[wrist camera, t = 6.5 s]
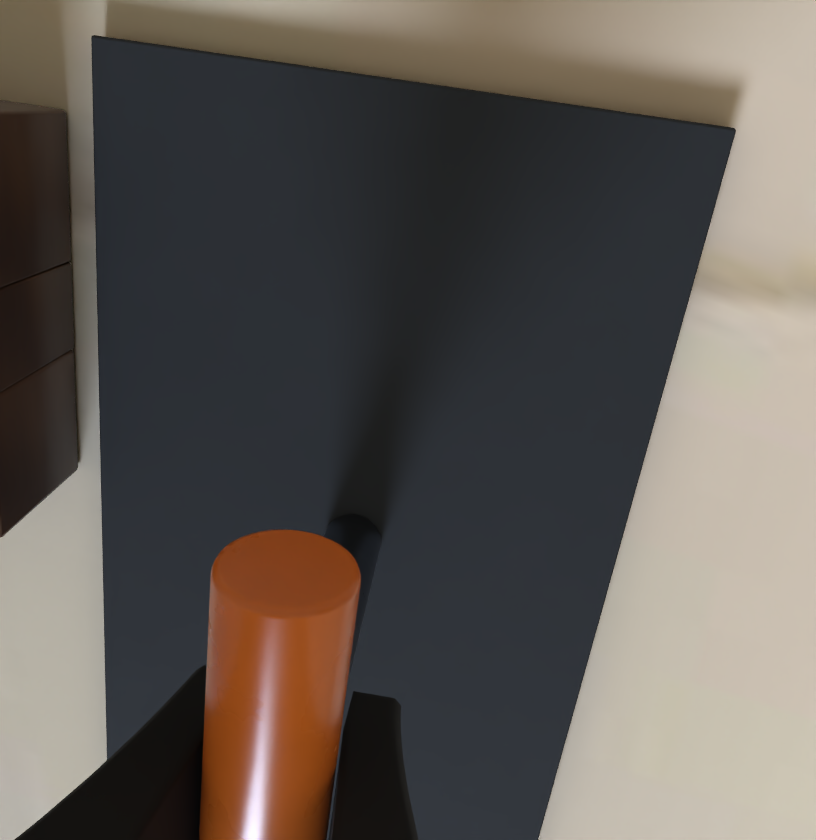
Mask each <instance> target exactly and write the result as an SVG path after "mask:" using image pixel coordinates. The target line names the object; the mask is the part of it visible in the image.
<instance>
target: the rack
mask: <svg viewBox="0 0 816 840" xmlns="http://www.w3.org/2000/svg"><path fill="white" fill-rule="evenodd" d="M70 260H71V245H70V216H69V187H68V157H67V128H66V112H65V111H64V110H62V109H55V108H49V107H42V106H35V105H29V104H22V103H15V102H8V101H2V100H0V537H3V536H4V535H5V534H6V533H7V532H8V531H9V530H11V529H12V528H13V527H14V526H15V525H16V524H17V523H18V522H19V521H21V520H22V519H23V518H24V517H25V516H26V515H27V514H28V513H29V512H31V511H32V510H33V509H34V508H35V507H36V506H37V505H38V504H39V503H41V502H42V501H43V500H44V499H45V498H46V497H47V496H48V495H49V494H51V493H52V492H53V491H54V490H55V489H56V488H57V487H58V486H59V485H61V484H62V483H63V482H64V481H65V480H66V479H67V478H68V477H69V476H71V475H72V474H73V473H74V472H75V471H76V470H77V468H78V457H77V428H76V399H75V370H74V352H73V350H71V349H73V348H74V327H73V298H72V269H71V263H69V261H70Z"/></svg>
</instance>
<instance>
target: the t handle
mask: <svg viewBox="0 0 816 840" xmlns="http://www.w3.org/2000/svg"><path fill="white" fill-rule="evenodd" d="M380 546H381V536H380V533H379V531H378V529H377V527H376V526H375V525H374V524H373V523H372V522H371V521H370V520H368V519H367V518H365V517H363V516H360V515H354V514H348V515H343V516H340V517H338V518H336V519H334V520H333V521H332V522H331V523H330V524H329V525H328V527H327V529H326V532H325V534H324V537H323V536H321V535H317V534H314V533H310V532H305V531H298V530H287V529H278V530H266V531H260V532H255V533H251V534H248V535H245V536H243V537H240V538H238V539H236V540H234V541H232V542H231V543H229V544H228V545H227V546H225V547H224V548H223V549H222V550H221V551H220V553H219V554H218V556H217V557H216V559H215V561H214V563H213V565H212V568H211V577H210V599H209V622H208V645H207V667H206V690H205V713H204V735H203V758H202V781H201V803H200V826H199V840H326V839H327V832H328V825H329V817H330V810H331V802H332V795H333V787H334V780H335V772H336V765H337V757H338V750H339V742H340V735H341V727H342V720H343V712H344V705H345V697H346V690H347V685H348V680H349V676H350V672H351V668H352V664H353V659H354V655H355V651H356V647H357V643H358V638H359V634H360V630H361V626H362V622H363V617H364V613H365V609H366V605H367V601H368V596H369V592H370V588H371V584H372V580H373V575H374V571H375V567H376V563H377V559H378V555H379V550H380Z"/></svg>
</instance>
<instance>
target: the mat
mask: <svg viewBox="0 0 816 840" xmlns="http://www.w3.org/2000/svg"><path fill="white" fill-rule="evenodd" d="M92 83H93V129H94V175H95V222H96V268H97V314H98V360H99V406H100V452H101V498H102V544H103V590H104V636H105V683H106V729H107V760H108V759H109V758H110V757H111V756H112V755H113V754H114V753H115V752H116V751H117V750H118V749H120V748H121V747H122V746H123V745H124V744H125V743H126V742H127V741H128V740H129V739H130V738H131V737H132V736H133V735H134V734H135V733H136V732H137V731H138V730H139V729H140V728H141V727H142V726H143V725H144V724H145V723H146V722H147V721H148V720H149V719H150V718H151V717H152V716H153V715H154V714H155V713H156V712H157V711H158V710H159V709H160V708H161V707H162V706H163V705H164V704H165V703H166V702H167V701H168V700H169V699H170V698H171V697H172V696H173V695H174V694H175V692H176V691H177V690H178V689H179V688H180V687H181V686H182V685H183V684H184V683H185V682H186V681H187V679H188V678H189V677H190V676H191V675H192V674H193V673H194V672H195V671H196V670H197V669H199V668H200V667H202V666H203V665H206V666H207V645H208V622H209V599H210V577H211V568H212V565H213V563H214V561H215V559H216V557H217V556H218V554H219V553H220V551H221V550H222V549H223V548H224V547H225V546H227V545H228V544H229V543H231V542H232V541H234V540H236V539H238V538H240V537H243V536H245V535H248V534H251V533H255V532H260V531H266V530H278V529H287V530H298V531H305V532H310V533H314V534H317V535H321V536H323V537H324V534H325V532H326V529H327V527H328V525H329V524H330V523H331V522H332V521H333V520H334V519H336V518H338V517H340V516H343V515H348V514H354V515H360V516H363V517H365V518H367V519H368V520H370V521H371V522H372V523H373V524H374V525H375V526H376V527H377V529H378V531H379V533H380V536H381V546H380V550H379V555H378V559H377V563H376V567H375V571H374V575H373V580H372V584H371V588H370V592H369V596H368V601H367V605H366V609H365V613H364V617H363V622H362V626H361V630H360V634H359V638H358V643H357V647H356V651H355V655H354V659H353V664H352V668H351V672H350V676H349V680H348V685H347V690H346V697H345V705H344V712H343V720H342V727H341V735H340V742H339V750H338V757H337V765H336V772H335V780H334V787H333V795H332V802H331V810H330V817H329V825H328V832H327V839H326V840H329V834H330V826H331V819H332V811H333V804H334V796H335V789H336V781H337V773H338V766H339V758H340V751H341V743H342V736H343V729H344V725H345V721H346V717H347V713H348V709H349V705H350V702H351V698H352V694H353V691H356V692H362V693H368V694H374V695H379V696H385V697H391V698H395V699H396V700H397V701H398V703H399V704H400V705H401V741H402V751H403V759H404V767H405V774H406V780H407V786H408V792H409V797H410V802H411V807H412V811H413V816H414V821H415V825H416V830H417V835H418V839H419V840H538V837H539V834H540V830H541V827H542V823H543V820H544V816H545V812H546V809H547V805H548V802H549V798H550V794H551V791H552V787H553V784H554V780H555V777H556V773H557V769H558V766H559V762H560V759H561V755H562V751H563V748H564V744H565V741H566V737H567V734H568V730H569V726H570V723H571V719H572V716H573V712H574V709H575V705H576V701H577V698H578V694H579V691H580V687H581V683H582V680H583V676H584V673H585V669H586V666H587V662H588V658H589V655H590V651H591V648H592V644H593V640H594V637H595V633H596V630H597V626H598V623H599V619H600V615H601V612H602V608H603V605H604V601H605V598H606V594H607V590H608V587H609V583H610V580H611V576H612V572H613V569H614V565H615V562H616V558H617V555H618V551H619V547H620V544H621V540H622V537H623V533H624V530H625V526H626V522H627V519H628V515H629V512H630V508H631V504H632V501H633V497H634V494H635V490H636V487H637V483H638V479H639V476H640V472H641V469H642V465H643V461H644V458H645V454H646V451H647V447H648V444H649V440H650V436H651V433H652V429H653V426H654V422H655V419H656V415H657V411H658V408H659V404H660V401H661V397H662V393H663V390H664V386H665V383H666V379H667V376H668V372H669V368H670V365H671V361H672V358H673V354H674V350H675V347H676V343H677V340H678V336H679V333H680V329H681V325H682V322H683V318H684V315H685V311H686V308H687V304H688V300H689V297H690V293H691V290H692V286H693V282H694V279H695V275H696V272H697V268H698V265H699V261H700V257H701V254H702V250H703V247H704V243H705V239H706V236H707V232H708V229H709V225H710V222H711V218H712V214H713V211H714V207H715V204H716V200H717V197H718V193H719V189H720V186H721V182H722V179H723V175H724V171H725V168H726V164H727V161H728V157H729V154H730V150H731V146H732V143H733V139H734V136H735V132H736V130H735V129H734V128H730V127H723V126H717V125H710V124H703V123H696V122H689V121H682V120H675V119H668V118H661V117H654V116H648V115H641V114H634V113H627V112H620V111H613V110H606V109H599V108H592V107H585V106H579V105H572V104H565V103H558V102H551V101H544V100H537V99H530V98H523V97H516V96H510V95H503V94H496V93H489V92H482V91H475V90H468V89H461V88H454V87H447V86H441V85H434V84H427V83H420V82H413V81H406V80H399V79H392V78H385V77H378V76H372V75H365V74H358V73H351V72H344V71H337V70H330V69H323V68H316V67H309V66H303V65H296V64H289V63H282V62H275V61H268V60H261V59H254V58H247V57H240V56H234V55H227V54H220V53H213V52H206V51H199V50H192V49H185V48H178V47H171V46H164V45H158V44H151V43H144V42H137V41H130V40H123V39H116V38H109V37H102V36H95V35H94V36H92Z"/></svg>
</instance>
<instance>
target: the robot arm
mask: <svg viewBox="0 0 816 840" xmlns="http://www.w3.org/2000/svg"><path fill="white" fill-rule="evenodd" d="M206 667H207V666H206V665H203V666H202V667H200V668H199V669H197V670H196V671H195V672H194V673H193V674H192V675H191V676H190V677H189V678H188V679H187V681H186V682H185V683H184V684H183V685H182V686H181V687H180V688H179V689H178V690H177V691H176V692H175V694H174V695H173V696H172V697H171V698H170V699H169V700H168V701H167V702H166V703H165V704H164V705H163V706H162V707H161V708H160V709H159V710H158V711H157V712H156V713H155V714H154V715H153V716H152V717H151V718H150V719H149V720H148V721H147V722H146V723H145V724H144V725H143V726H142V727H141V728H140V729H139V730H138V731H137V732H136V733H135V734H134V735H133V736H132V737H131V738H130V739H129V740H128V741H127V742H126V743H125V744H124V745H123V746H122V747H121V748H120V749H118V750H117V751H116V752H115V753H114V754H113V755H112V756H111V757H110V758H109V759H108V760H107V761H106V762H105V763H104V764H103V765H102V766H101V767H100V768H98V769H97V770H96V771H95V772H94V773H93V774H92V775H91V776H90V777H89V778H87V779H86V780H85V781H84V782H83V783H82V784H80V785H79V786H78V787H77V788H76V789H75V790H73V791H72V792H71V793H70V794H69V795H68V796H66V797H65V798H64V799H63V800H62V801H61V802H60V803H58V804H57V805H56V806H55V807H54V808H53V809H51V810H50V811H49V812H48V813H47V814H46V815H44V816H43V817H42V818H41V819H40V820H38V821H37V822H36V823H35V824H34V825H32V826H31V827H30V828H29V829H27V830H26V831H25V832H24V833H22V834H21V835H20V836H19V837H17V838H16V839H15V840H199V826H200V803H201V781H202V758H203V735H204V713H205V690H206ZM329 840H419V839H418V835H417V830H416V825H415V821H414V816H413V811H412V807H411V802H410V797H409V792H408V786H407V780H406V774H405V767H404V759H403V751H402V741H401V705H400V704H399V703H398V701H397V700H396V699H395V698H391V697H385V696H379V695H374V694H368V693H362V692H356V691H353V694H352V698H351V702H350V705H349V709H348V713H347V717H346V721H345V725H344V729H343V736H342V743H341V751H340V758H339V766H338V773H337V781H336V789H335V796H334V804H333V811H332V819H331V826H330V834H329Z"/></svg>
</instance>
